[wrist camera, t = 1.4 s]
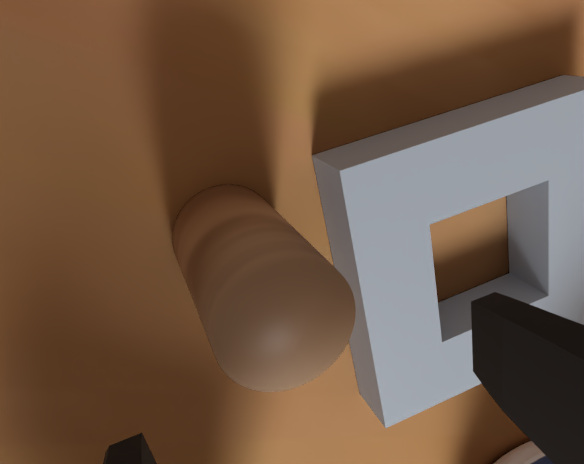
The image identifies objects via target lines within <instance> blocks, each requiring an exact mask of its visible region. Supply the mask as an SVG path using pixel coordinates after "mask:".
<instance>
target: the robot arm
mask: <svg viewBox="0 0 584 464" xmlns="http://www.w3.org/2000/svg"><path fill="white" fill-rule="evenodd" d="M471 322H472V355H473V372H474V373H475V375H476V376H477V378H478V379H479V380H480V382H481V383H482V384H483V386H484V387H485V388H486V390H487V391H488V393H489V394H490V395H491V396H492V398H493V399H494V400H495V402H496V403H497V404H498V405H499V407H500V408H501V409H502V410H503V412H504V413H505V414H506V415H507V416H508V417H509V418H510V419H511V420H512V421H513V422H514V423H515V424H516V425H517V426H518V427H519V428H520V429H521V430H522V432H523V433H524V434H525V435H526V436H527V437H528V438H529V439H530V440H531V441H532V442H533V443H534V444H535V445H536V446H537V447H538V448H539V449H540V450H541V451H542V452H543V453H544V454H545V455H546V456H547V457H548V458H549V459H550V460H551V461H552V462H553V463H554V464H584V325H583V324H580V323H577V322H575V321H572V320H569V319H567V318H564V317H561V316H559V315H556V314H553V313H551V312H548V311H546V310H543V309H540V308H538V307H535V306H533V305H530V304H527V303H525V302H522V301H519V300H517V299H514V298H511V297H508V296H506V295H503V294H500V293H497V292H494V293H491V294H489V295H486V296H483V297H481V298H478V299H476V300H473V301H471ZM103 464H156V461H155V459H154V457H153V455H152V453H151V451H150V449H149V447H148V445H147V443H146V440H145V438H144V436H143V434H142V433H140V434H138V435H135V436H133V437H130V438H128V439H125V440H123V441H120V442H118V443H115V444H113V445H110V446H109V448H108V449H107V451H106V453H105V458H104V462H103Z"/></svg>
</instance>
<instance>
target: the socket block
mask: <svg viewBox="0 0 584 464" xmlns="http://www.w3.org/2000/svg"><path fill="white" fill-rule="evenodd" d="M312 158H313V163H314V168H315V173H316V178H317V183H318V188H319V193H320V198H321V203H322V208H323V213H324V218H325V223H326V228H327V233H328V238H329V243H330V248H331V253H332V258H333V263H334V267H335V268H336V269H337V270H338V271H339V272H340V273H341V274H342V276H343V277H344V278H345V279H346V281H347V282H348V284H349V285H350V288H351V290H352V292H353V296H354V299H355V307H356V317H355V323H354V328H353V331H352V334H351V337H350V339H349V343H350V348H351V353H352V358H353V363H354V368H355V373H356V378H357V383H358V388H359V393H360V395H361V396H362V397H363V399H364V400H365V401H366V403H367V404H368V405H369V407H370V408H371V409H372V411H373V412H374V413H375V415H376V416H377V417H378V419H379V420H380V421H381V423H382V424H383V425H384V427H385V428H387V427H389V426H392V425H394V424H396V423H398V422H400V421H402V420H404V419H407V418H409V417H411V416H413V415H415V414H417V413H419V412H422V411H424V410H426V409H428V408H430V407H432V406H434V405H437V404H439V403H441V402H443V401H445V400H447V399H449V398H451V397H454V396H456V395H458V394H460V393H462V392H464V391H466V390H469V389H471V388H473V387H475V386H477V385H479V384H481V382H480V380H479V379H478V378H477V376H476V375H475V373H474V372H473V355H472V322H471V301H473V300H476V299H478V298H481V297H483V296H486V295H489V294H491V293H494V292H497V293H500V294H503V295H506V296H508V297H511V298H514V299H517V300H519V301H522V302H525V303H527V304H530V305H533V306H535V307H538V308H540V309H543V310H546V311H548V312H551V313H553V314H556V315H559V316H561V317H564V318H567V319H569V320H572V321H575V322H577V323H580V324H583V325H584V77H580V76H570V75H562V76H559V77H556V78H552V79H549V80H546V81H543V82H540V83H537V84H534V85H531V86H527V87H524V88H521V89H518V90H515V91H512V92H509V93H505V94H502V95H499V96H496V97H493V98H490V99H487V100H484V101H480V102H477V103H474V104H471V105H468V106H465V107H462V108H459V109H455V110H452V111H449V112H446V113H443V114H440V115H437V116H433V117H430V118H427V119H424V120H421V121H418V122H415V123H412V124H408V125H405V126H402V127H399V128H396V129H393V130H390V131H386V132H383V133H380V134H377V135H374V136H371V137H368V138H365V139H361V140H358V141H355V142H352V143H349V144H346V145H343V146H340V147H336V148H333V149H330V150H327V151H324V152H321V153H318V154H314V155H312ZM505 196H507V222H508V249H509V273H508V274H506V275H503V276H501V277H499V278H496V279H494V280H491V281H489V282H487V283H484V284H482V285H479V286H477V287H475V288H472V289H470V290H467V291H465V292H463V293H460V294H458V295H455V296H453V297H451V298H448V299H446V300H443V301H441V302H439V303H438V300H437V290H436V281H435V272H434V262H433V253H432V244H431V234H430V224H433V223H435V222H438V221H441V220H443V219H446V218H449V217H451V216H454V215H457V214H459V213H462V212H465V211H467V210H470V209H473V208H475V207H478V206H481V205H483V204H486V203H489V202H491V201H494V200H497V199H499V198H502V197H505Z"/></svg>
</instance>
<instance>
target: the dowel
mask: <svg viewBox="0 0 584 464" xmlns="http://www.w3.org/2000/svg"><path fill="white" fill-rule="evenodd" d="M172 242H173V249H174V252H175V255H176V258H177V260H178V263H179V265H180V268H181V271H182V273H183V276H184V278H185V281H186V283H187V286H188V288H189V291H190V294H191V296H192V299H193V301H194V304H195V306H196V309H197V311H198V314H199V317H200V319H201V322H202V324H203V327H204V329H205V332H206V335H207V337H208V340H209V342H210V345H211V347H212V350H213V352H214V355H215V357H216V360H217V362H218V364H219V366H220V367H221V369H222V370H223V372H224V373H225V374H226V375H227V376H228V377H229V378H230V379H232V380H233V381H234V382H236V383H237V384H239V385H241V386H243V387H245V388H248V389H251V390H255V391H262V392H278V391H285V390H289V389H293V388H296V387H299V386H301V385H304V384H306V383H308V382H310V381H311V380H313V379H315V378H316V377H318V376H319V375H321V374H322V373H323V372H325V371H326V370H327V369H328V368H329V367H330V366H331V365H332V364H333V363H334V362H335V361H336V360H337V359H338V357H339V356H340V355H341V353H342V352H343V350H344V349H345V347H346V345H347V343H348V342H349V339H350V337H351V334H352V331H353V328H354V323H355V317H356V307H355V299H354V296H353V292H352V290H351V288H350V285H349V284H348V282H347V281H346V279H345V278H344V277H343V276H342V274H341V273H340V272H339V271H338V270H337V269H336V268H335V267H334V266H333V265H331V264H330V263H329V262H328V261H327V260H326V259H325V258H324V257H323V256H322V255H321V254H320V253H319V252H318V251H317V250H316V249H315V248H314V247H313V246H312V245H311V244H310V243H309V242H308V241H307V240H306V239H305V238H304V237H303V236H302V235H300V234H299V233H298V232H297V231H296V230H295V229H294V228H293V227H292V226H291V225H290V224H289V223H288V222H287V221H286V220H285V219H284V218H283V217H282V216H281V215H280V214H279V213H278V212H277V211H276V210H275V209H274V208H273V207H272V206H271V205H270V204H268V203H267V202H266V201H265V200H264V199H263V198H262V197H261V196H260V195H259V194H257V193H256V192H254V191H253V190H251V189H248V188H246V187H243V186H239V185H227V184H225V185H218V186H214V187H210V188H208V189H205V190H203V191H201V192H200V193H198V194H197V195H195V196H194V197H192V198H191V199H190V200H189V201H188V202H187V203H186V204H185V205H184V207H183V208H182V209H181V211H180V213H179V214H178V216H177V218H176V221H175V224H174V227H173V233H172Z"/></svg>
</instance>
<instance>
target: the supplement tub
mask: <svg viewBox="0 0 584 464" xmlns="http://www.w3.org/2000/svg"><path fill="white" fill-rule="evenodd" d="M493 464H554V463H553V462H552V461H551V460H550V459H549V458H548V457H547V456H546V455H545V454H544V453H543V452H542V451H541V450H540V449H539V448H538V447H537V446H536V445H535V444H534V443H533V442H532V441H529V442H527V443H525V444H523V445H520V446H518V447H517V448H515V449H513V450H511V451H510V452H508V453H507V454H505V455H504V456H502V457H501V458H500V459H498V460H497V461H496V462H495V463H493Z"/></svg>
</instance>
